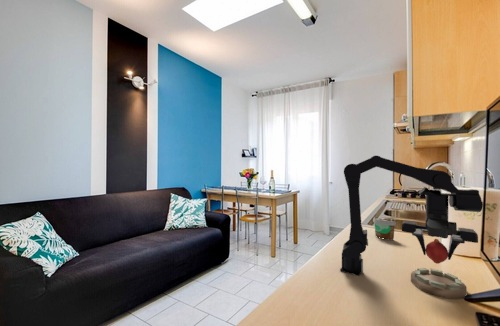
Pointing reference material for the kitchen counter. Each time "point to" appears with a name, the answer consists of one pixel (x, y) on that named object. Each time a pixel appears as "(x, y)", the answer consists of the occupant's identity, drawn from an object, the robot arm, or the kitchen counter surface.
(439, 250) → the pomegranate
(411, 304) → the kitchen counter surface
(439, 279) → the display stand
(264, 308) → the kitchen counter surface
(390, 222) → the food container
